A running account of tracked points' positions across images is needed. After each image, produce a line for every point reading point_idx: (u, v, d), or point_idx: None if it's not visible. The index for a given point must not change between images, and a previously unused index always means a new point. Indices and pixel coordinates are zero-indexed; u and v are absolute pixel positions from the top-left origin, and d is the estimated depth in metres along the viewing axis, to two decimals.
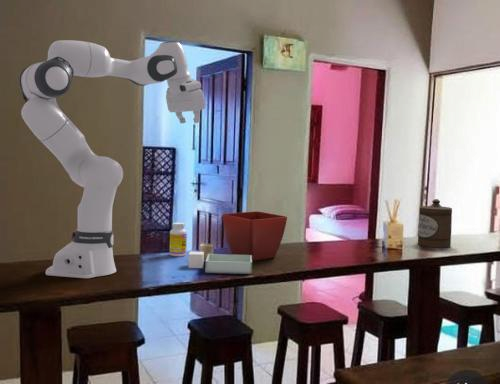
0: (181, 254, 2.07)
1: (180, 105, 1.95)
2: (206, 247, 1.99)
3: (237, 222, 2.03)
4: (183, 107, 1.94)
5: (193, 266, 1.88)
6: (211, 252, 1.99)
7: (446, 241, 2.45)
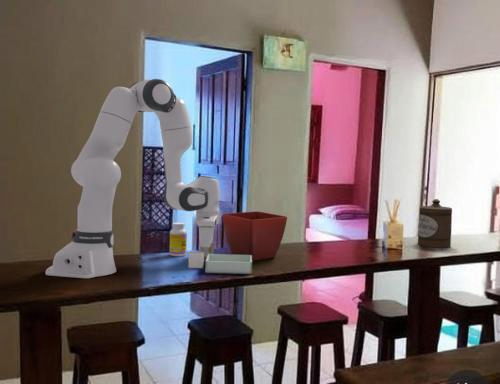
0: (181, 254, 2.07)
1: None
2: None
3: (237, 222, 2.03)
4: None
5: (193, 266, 1.88)
6: (211, 252, 1.99)
7: (446, 241, 2.45)
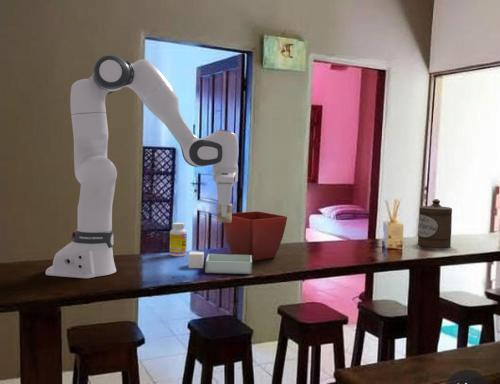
0: (181, 254, 2.07)
1: None
2: None
3: (237, 222, 2.03)
4: None
5: (193, 266, 1.88)
6: (229, 212, 1.85)
7: (446, 241, 2.45)
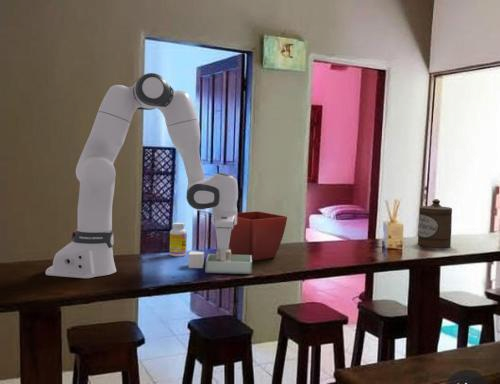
0: (181, 254, 2.07)
1: None
2: None
3: (237, 222, 2.03)
4: None
5: (193, 266, 1.88)
6: (228, 258, 1.85)
7: (446, 241, 2.45)
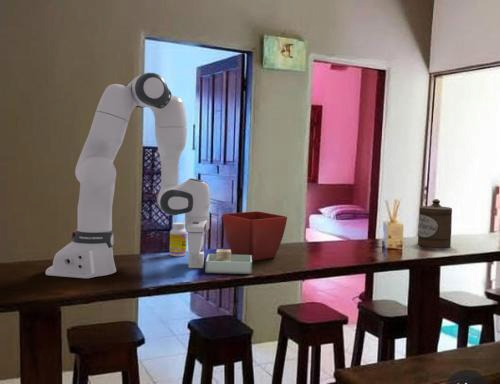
0: (181, 254, 2.07)
1: None
2: (223, 253, 1.85)
3: (237, 222, 2.03)
4: None
5: (193, 266, 1.88)
6: (228, 258, 1.85)
7: (446, 241, 2.45)
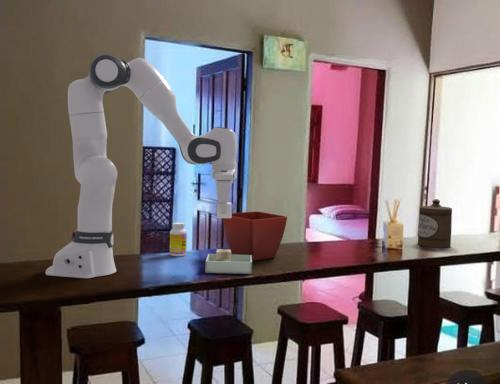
0: (181, 254, 2.07)
1: None
2: (223, 253, 1.85)
3: (237, 222, 2.03)
4: None
5: (221, 216, 1.85)
6: (228, 258, 1.85)
7: (446, 241, 2.45)
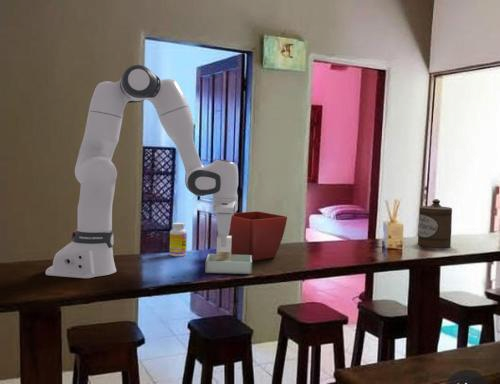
0: (181, 254, 2.07)
1: None
2: (223, 253, 1.85)
3: (237, 222, 2.03)
4: None
5: (221, 250, 1.85)
6: (228, 258, 1.85)
7: (446, 241, 2.45)
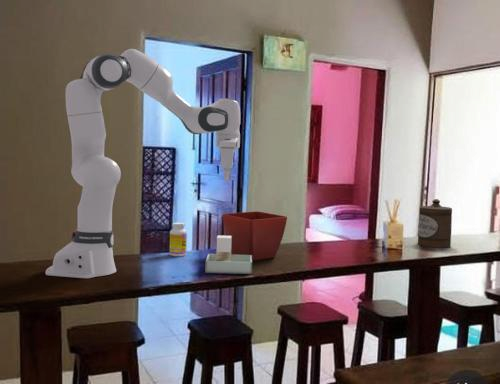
0: (181, 254, 2.07)
1: None
2: (223, 253, 1.85)
3: (237, 222, 2.03)
4: None
5: (221, 250, 1.85)
6: (228, 258, 1.85)
7: (446, 241, 2.45)
